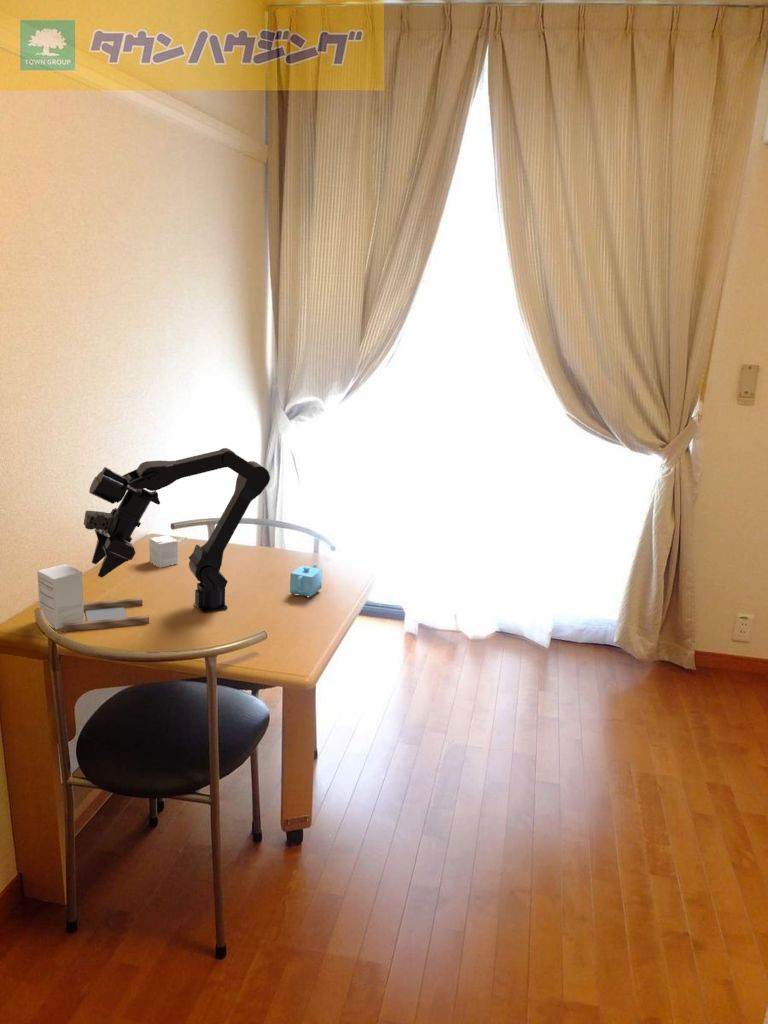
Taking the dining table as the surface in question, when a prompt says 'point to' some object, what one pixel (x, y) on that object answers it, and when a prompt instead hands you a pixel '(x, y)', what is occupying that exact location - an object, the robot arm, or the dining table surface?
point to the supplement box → (61, 595)
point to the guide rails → (107, 615)
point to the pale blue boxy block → (306, 580)
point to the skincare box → (163, 551)
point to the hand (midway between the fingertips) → (96, 569)
